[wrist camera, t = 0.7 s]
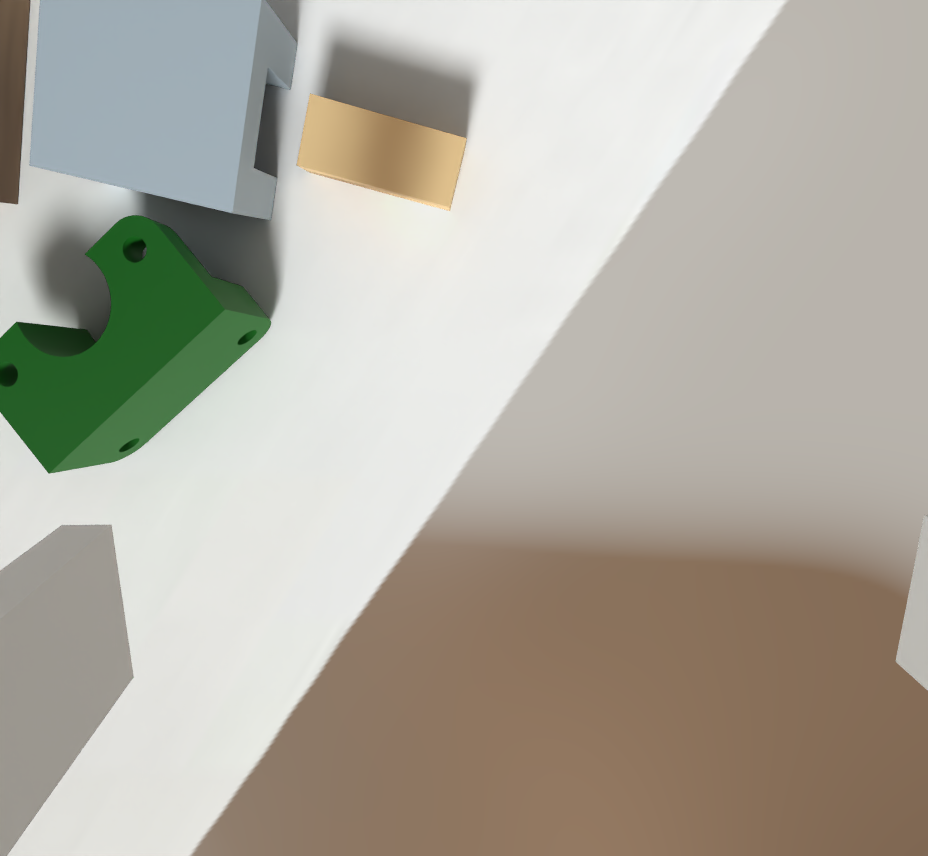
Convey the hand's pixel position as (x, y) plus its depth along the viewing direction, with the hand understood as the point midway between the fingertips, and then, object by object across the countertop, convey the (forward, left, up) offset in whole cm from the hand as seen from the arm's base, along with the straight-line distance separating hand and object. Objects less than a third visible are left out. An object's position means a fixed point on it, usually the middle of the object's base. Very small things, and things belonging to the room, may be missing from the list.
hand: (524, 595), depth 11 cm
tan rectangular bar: (-6, +9, -25) cm, 27 cm away
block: (-15, +9, -25) cm, 30 cm away
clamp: (-16, -3, -25) cm, 30 cm away
